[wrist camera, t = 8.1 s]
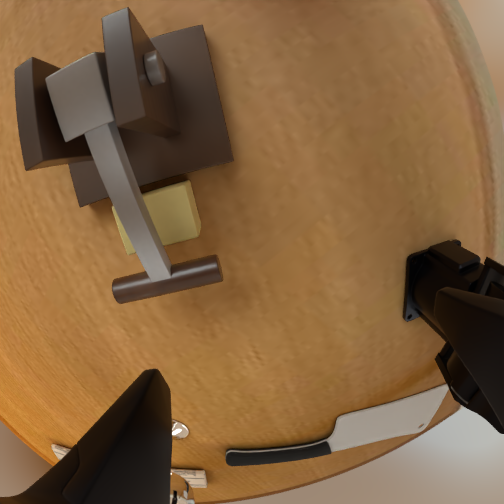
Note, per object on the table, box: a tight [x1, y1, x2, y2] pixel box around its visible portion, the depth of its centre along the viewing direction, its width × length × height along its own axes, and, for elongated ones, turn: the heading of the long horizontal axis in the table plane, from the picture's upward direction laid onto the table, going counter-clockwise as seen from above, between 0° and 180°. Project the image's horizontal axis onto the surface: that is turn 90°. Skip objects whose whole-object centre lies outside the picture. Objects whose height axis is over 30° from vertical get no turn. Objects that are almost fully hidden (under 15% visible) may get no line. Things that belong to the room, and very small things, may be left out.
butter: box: [112, 180, 201, 255], centre depth 16 cm, size 3×4×2 cm
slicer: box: [15, 7, 234, 207], centre depth 10 cm, size 9×10×9 cm
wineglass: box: [170, 420, 194, 504], centre depth 19 cm, size 6×6×12 cm
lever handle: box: [45, 52, 223, 304], centre depth 11 cm, size 12×6×2 cm, turn 13°
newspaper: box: [51, 444, 208, 488], centre depth 27 cm, size 24×7×2 cm, turn 87°
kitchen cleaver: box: [225, 384, 449, 466], centre depth 27 cm, size 31×2×10 cm
